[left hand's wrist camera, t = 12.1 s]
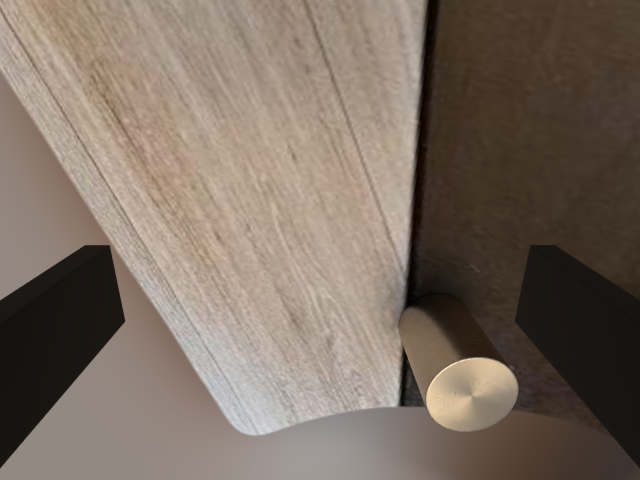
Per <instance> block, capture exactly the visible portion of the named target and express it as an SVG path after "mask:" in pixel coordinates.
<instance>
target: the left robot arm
mask: <svg viewBox="0 0 640 480" xmlns="http://www.w3.org/2000/svg"><path fill="white" fill-rule="evenodd" d="M124 322H125V318H124V313H123V308H122V303H121V298H120V293H119V289H118V284H117V279H116V274H115V269H114V264H113V259H112V254H111V250H110V245H85V246H83V247H82V248H80V249H79V250H77V251H76V252H74V253H72V254H71V255H69V256H68V257H66V258H65V259H63V260H62V261H60V262H59V263H57V264H56V265H54V266H52V267H51V268H49V269H48V270H46V271H45V272H43V273H42V274H40V275H39V276H37V277H35V278H34V279H33V280H31V281H29V282H28V283H26V284H25V285H23V286H22V287H20V288H19V289H17V290H15V291H14V292H12V293H11V294H9V295H8V296H6V297H5V298H3V299H2V300H0V468H1V467H2V466H3V464H4V463H5V462H6V461H7V460H8V459H9V457H10V456H11V455H12V454H13V453H14V451H15V450H16V449H17V448H18V447H19V446H20V444H21V443H22V442H23V441H24V440H25V439H26V437H27V436H28V435H29V434H30V433H31V431H32V430H33V429H34V428H35V427H36V426H37V425H38V423H39V422H40V421H41V420H42V419H43V417H44V416H45V415H46V414H47V413H48V412H49V410H50V409H51V408H52V407H53V406H54V404H55V403H56V402H57V401H58V400H59V399H60V397H61V396H62V395H63V394H64V393H65V392H66V390H67V389H68V388H69V387H70V386H71V385H72V383H73V382H74V381H75V380H76V379H77V378H78V376H79V375H80V374H81V373H82V372H83V370H84V369H85V368H86V367H87V366H88V365H89V363H90V362H91V361H92V360H93V359H94V358H95V356H96V355H97V354H98V353H99V352H100V350H101V349H102V348H103V347H104V346H105V345H106V343H107V342H108V341H109V340H110V339H111V338H112V336H113V335H114V334H115V333H116V332H117V331H118V329H119V328H120V327H121V326H122V325H123V323H124ZM515 322H516V323H517V325H518V326H519V327H520V328H521V329H522V331H523V332H524V333H525V334H526V335H527V336H528V338H529V339H530V340H531V341H532V342H533V343H534V345H535V346H536V347H537V348H538V349H539V351H540V352H541V353H542V354H543V355H544V356H545V358H546V359H547V360H548V361H549V362H550V363H551V365H552V366H553V367H554V368H555V369H556V370H557V372H558V373H559V374H560V375H561V376H562V378H563V379H564V380H565V381H566V382H567V383H568V385H569V386H570V387H571V388H572V389H573V390H574V392H575V393H576V394H577V395H578V396H579V397H580V399H581V400H582V401H583V402H584V403H585V405H586V406H587V407H588V408H589V409H590V410H591V412H592V413H593V414H594V415H595V416H596V417H597V419H598V420H599V421H600V422H601V423H602V425H603V426H604V427H605V428H606V429H607V430H608V432H609V433H610V434H611V435H612V436H613V437H614V439H615V440H616V441H617V442H618V443H619V444H620V446H621V447H622V448H623V449H624V450H625V452H626V453H627V454H628V455H629V456H630V457H631V459H632V460H633V461H634V462H635V463H636V464H637V466H638V467H639V468H640V300H638V299H637V298H635V297H634V296H632V295H631V294H629V293H628V292H626V291H625V290H623V289H621V288H620V287H618V286H617V285H615V284H614V283H612V282H611V281H609V280H608V279H606V278H605V277H603V276H601V275H600V274H598V273H597V272H595V271H594V270H592V269H591V268H589V267H588V266H586V265H584V264H583V263H581V262H580V261H578V260H577V259H575V258H574V257H572V256H571V255H569V254H568V253H566V252H564V251H563V250H561V249H560V248H558V247H557V246H555V245H530V249H529V254H528V259H527V264H526V269H525V274H524V279H523V284H522V288H521V293H520V298H519V303H518V308H517V313H516V318H515Z"/></svg>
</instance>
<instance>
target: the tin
mask: <svg viewBox="0 0 640 480" xmlns="http://www.w3.org/2000/svg"><path fill="white" fill-rule="evenodd" d="M399 334H400V337H401V340H402V343H403V346H404V348H405V351H406V354H407V357H408V359H409V362H410V365H411V368H412V370H413V373H414V376H415V379H416V381H417V384H418V387H419V390H420V392H421V395H422V398H423V400H424V403H425V406H426V409H427V411H428V413H429V415H430V416H431V417H432V419H433V420H434V421H435V422H437V423H438V424H439V425H441V426H442V427H445V428H447V429H450V430H453V431H459V432H471V431H478V430H482V429H485V428H488V427H490V426H492V425H494V424H496V423H497V422H499V421H500V420H502V419H503V418H504V417H505V416H506V415H507V414H508V413H509V412H510V411H511V409H512V408H513V406H514V404H515V402H516V400H517V396H518V382H517V378H516V376H515V374H514V373H513V371H512V370H511V369H510V367H509V366H508V364H507V363H506V362H505V360H504V359H503V358H502V356H501V355H500V353H499V352H498V351H497V349H496V348H495V347H494V345H493V344H492V343H491V341H490V340H489V338H488V337H487V336H486V334H485V333H484V332H483V330H482V329H481V327H480V326H479V325H478V323H477V322H476V321H475V319H474V318H473V317H472V315H471V314H470V312H469V311H468V310H467V308H466V307H465V306H464V304H463V303H462V302H461V301H459V300H458V299H456V298H455V297H452V296H450V295H446V294H430V295H426V296H423V297H420V298H418V299H417V300H415V301H413V302H412V303H411V304H410V305H409V306H408V307H407V308H406V309H405V311H404V312H403V314H402V316H401V318H400V322H399Z"/></svg>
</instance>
